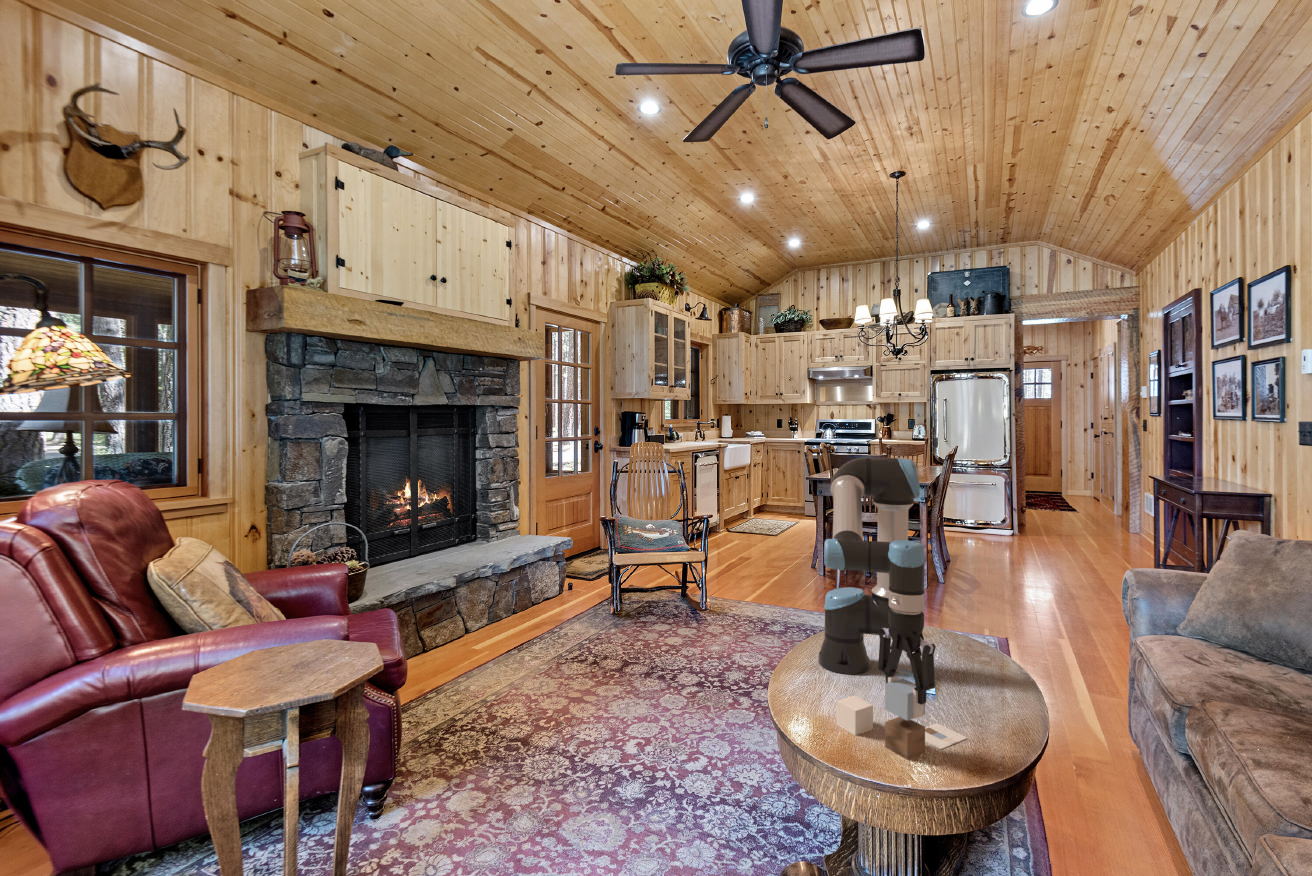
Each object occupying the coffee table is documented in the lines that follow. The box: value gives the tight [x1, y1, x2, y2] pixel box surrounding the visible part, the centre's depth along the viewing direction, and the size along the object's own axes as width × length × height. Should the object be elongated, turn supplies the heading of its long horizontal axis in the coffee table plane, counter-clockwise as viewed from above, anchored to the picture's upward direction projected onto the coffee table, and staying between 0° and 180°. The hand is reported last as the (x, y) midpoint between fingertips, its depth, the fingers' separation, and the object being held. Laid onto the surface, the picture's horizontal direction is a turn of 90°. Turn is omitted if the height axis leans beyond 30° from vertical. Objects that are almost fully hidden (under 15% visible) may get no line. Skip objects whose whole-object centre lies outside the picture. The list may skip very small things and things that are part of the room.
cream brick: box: [836, 695, 874, 736], centre depth 147 cm, size 6×6×6 cm
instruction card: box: [924, 722, 968, 751], centre depth 142 cm, size 8×10×1 cm
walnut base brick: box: [884, 716, 926, 761], centre depth 136 cm, size 6×6×6 cm
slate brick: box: [884, 678, 926, 721], centre depth 136 cm, size 6×6×6 cm
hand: (905, 710), depth 136 cm, fingers closed on slate brick, 6 cm apart
